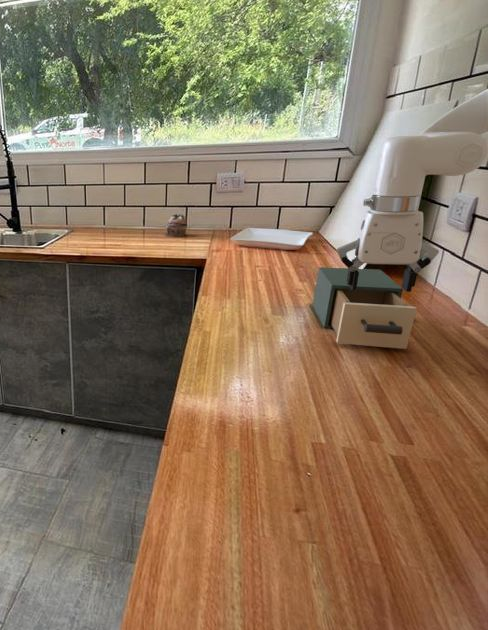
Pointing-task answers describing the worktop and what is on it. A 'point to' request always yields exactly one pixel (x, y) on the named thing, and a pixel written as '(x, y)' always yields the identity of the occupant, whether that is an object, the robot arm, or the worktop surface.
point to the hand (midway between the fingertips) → (378, 288)
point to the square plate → (271, 238)
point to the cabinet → (347, 287)
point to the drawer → (371, 318)
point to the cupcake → (176, 226)
